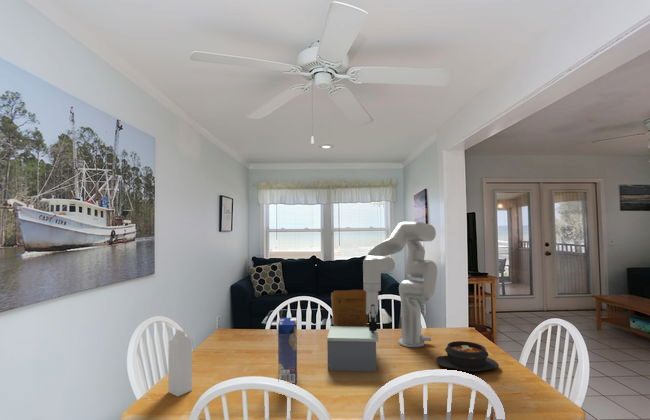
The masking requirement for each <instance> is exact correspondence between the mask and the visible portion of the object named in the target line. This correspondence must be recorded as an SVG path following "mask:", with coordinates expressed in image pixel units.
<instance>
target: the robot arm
mask: <svg viewBox="0 0 650 420" xmlns="http://www.w3.org/2000/svg"><path fill="white" fill-rule="evenodd" d="M436 231H437V230H436V228H435V227H434V226H433V224H431V223H425V222H421V221H402V222H399V223H398V224H397V225H395V228H394V229H393V230H392V232H391V233H390V234H389V236H388V238H387V239H386V240H383V241H381V242H380V243H378V244H376V245H374V246H372V248H370V250H369V251H368V252H367V254H366V255H365V257H364V259H363V260H362V263H363V264H362V272H363V273H362V275H363V278H362V279H363V287H362V288H363V290H364V291H366V314H367V315H368V327H369V331H377V332H378V326H377V324H378V323H377V315H378V311H379V292H381V290H382V284H381V282H382V281H381V280H382V278H381V277H382V275H381V274H385V275H386V274H390V273H392V272H393V271H394V269H395V266H396V265H395V264H396V263H395V260H394V259H393V258H392V257H390V256H391V255H394V254H398V253H400V252H402V250H403V249H404V248H405V246H407V250H408V251H407V258H406V264H405V270H404V272H405V274H406V276H407V277H409V278H411V279H405V280H401V282H400V283H399V286H398V292H399V300H400V305H401V306H400V311H401V313H400V315H401V316H400V317H401V321H400V322H401V338H399V339H398V344H399V345H400V346H402V347H407V348H421V347H424V345H425V341H426V342H431V341H432V337H431V336H428V335H422V315H421V314H422V311H421V305H420V303H419V302H418V301H420V302H431V301H433V299H434V296H435V291H436V285H437V279H438V267H437V264H436V263H435V262H434V261H433V260H428V259H425V255H426V250H425V248H424V246H423V245H422V243H421V242H432V241H434V240H435V238H436V236H437V232H436ZM414 279H415V280H414ZM416 279H420V280H416ZM422 280H423V281H422ZM369 319H370V321H369Z"/></svg>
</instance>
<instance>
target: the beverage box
mask: <svg viewBox="0 0 650 420" xmlns="http://www.w3.org/2000/svg"><path fill="white" fill-rule="evenodd" d="M277 331H278V332H277V333H278V334H277V336H278V337H277V338H278V339H277V341H278V342H277V343H278V347H277V348H278V350H277V353H278V360H277V361H278V362H277V363H278V380H279V379H280V380H284V381H287V382H290V383H289V384H297V380H298V379H297V378H298V317H280V318H279V320H278V324H277Z"/></svg>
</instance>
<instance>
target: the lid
mask: <svg viewBox="0 0 650 420" xmlns="http://www.w3.org/2000/svg"><path fill="white" fill-rule="evenodd" d="M369 321H370V319H369V318H368V322H369ZM326 340H327V341H363V342H376V343H378V342H379V333H378V330H377V331H369V326H367V327H347V326H334V325H333V326H332V325H331V326H330V327H329V331H328V334H327V337H326ZM327 341H326V342H327Z"/></svg>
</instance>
